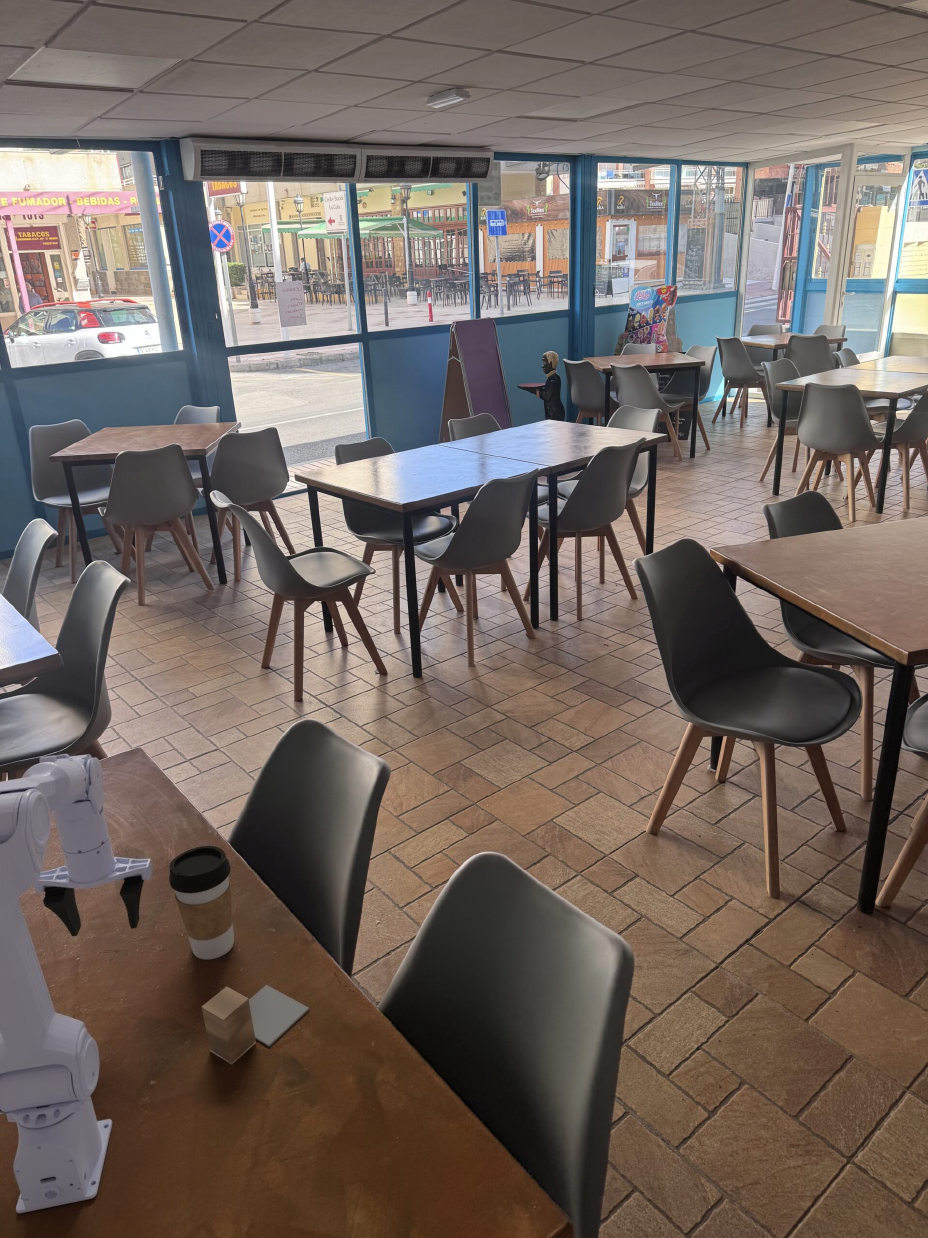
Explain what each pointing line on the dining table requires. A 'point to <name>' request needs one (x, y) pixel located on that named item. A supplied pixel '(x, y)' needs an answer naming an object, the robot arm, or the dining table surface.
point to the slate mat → (273, 1014)
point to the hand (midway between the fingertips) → (106, 927)
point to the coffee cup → (204, 899)
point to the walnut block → (229, 1024)
